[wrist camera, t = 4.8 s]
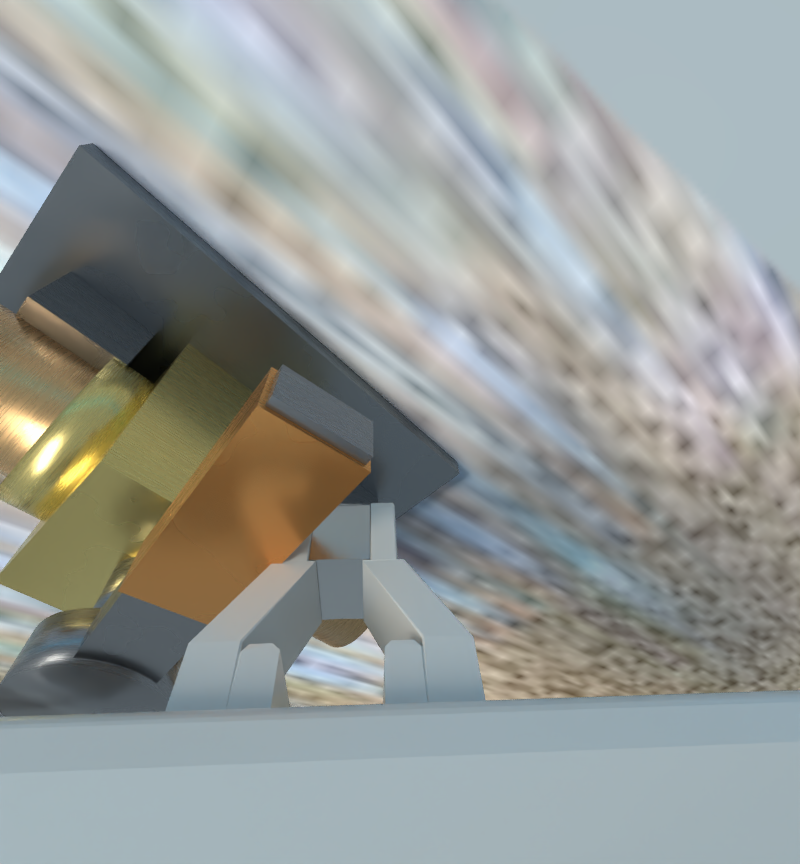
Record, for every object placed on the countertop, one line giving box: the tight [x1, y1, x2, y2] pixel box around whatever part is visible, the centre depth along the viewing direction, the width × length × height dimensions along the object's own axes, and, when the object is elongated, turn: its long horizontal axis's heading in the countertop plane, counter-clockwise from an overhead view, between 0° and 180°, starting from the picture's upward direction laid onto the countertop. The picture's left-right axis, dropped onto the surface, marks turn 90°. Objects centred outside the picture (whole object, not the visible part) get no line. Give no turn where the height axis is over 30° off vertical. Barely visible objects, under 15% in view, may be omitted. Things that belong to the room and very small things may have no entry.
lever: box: [0, 365, 373, 717], centre depth 10 cm, size 11×4×1 cm, turn 141°
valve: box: [0, 143, 459, 647], centre depth 16 cm, size 12×17×10 cm
